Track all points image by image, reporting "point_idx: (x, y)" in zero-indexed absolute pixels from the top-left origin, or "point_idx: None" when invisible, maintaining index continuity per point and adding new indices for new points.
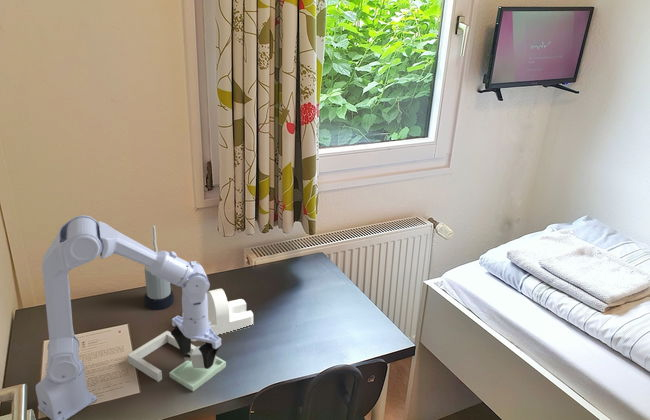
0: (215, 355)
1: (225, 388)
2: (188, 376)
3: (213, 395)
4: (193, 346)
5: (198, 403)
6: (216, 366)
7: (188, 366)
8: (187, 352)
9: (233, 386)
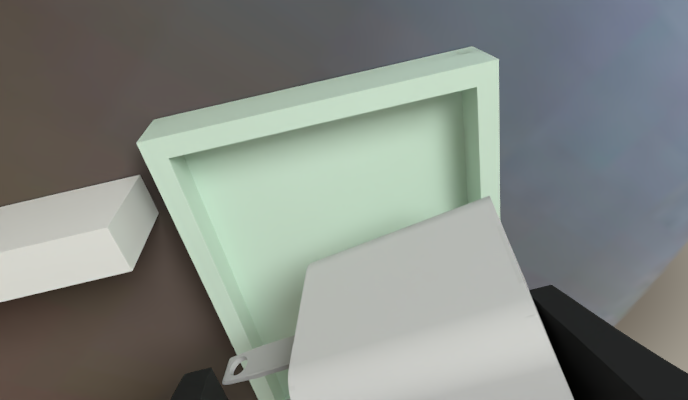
0: (503, 230)
1: (637, 191)
2: None
3: (606, 275)
4: (78, 249)
5: None
6: (427, 136)
7: (267, 303)
8: (221, 398)
9: (679, 136)
